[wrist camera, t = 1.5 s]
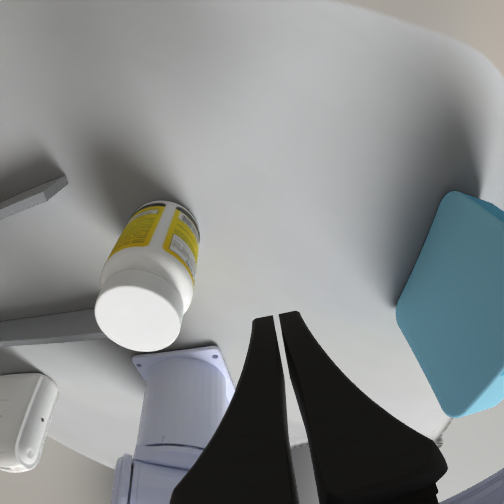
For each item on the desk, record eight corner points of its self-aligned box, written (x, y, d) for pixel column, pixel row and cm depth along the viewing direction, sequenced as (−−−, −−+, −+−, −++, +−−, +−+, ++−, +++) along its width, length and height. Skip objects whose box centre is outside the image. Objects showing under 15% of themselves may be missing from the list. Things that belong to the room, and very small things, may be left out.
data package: (427, 314, 26) (488, 415, 16) (390, 313, 26) (449, 428, 15) (482, 196, 20) (586, 280, 10) (445, 183, 20) (563, 275, 9)
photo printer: (43, 368, 27) (8, 465, 16) (66, 392, 29) (39, 485, 19) (-5, 371, 28) (-39, 449, 17) (15, 393, 30) (-13, 469, 19)
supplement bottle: (123, 251, 21) (82, 339, 13) (138, 188, 19) (89, 262, 11) (188, 272, 22) (174, 367, 15) (211, 212, 20) (202, 298, 13)
